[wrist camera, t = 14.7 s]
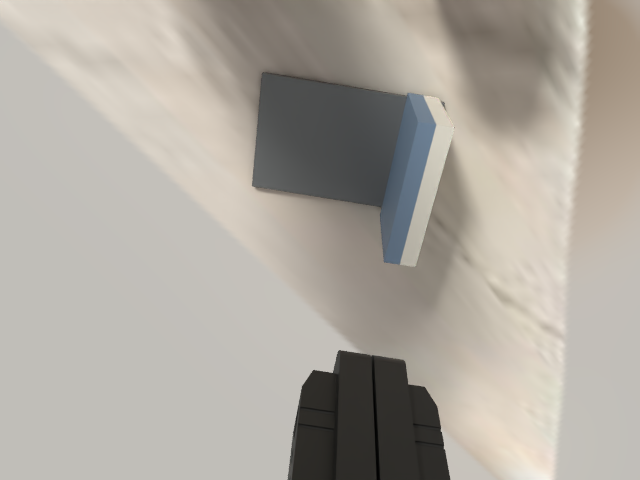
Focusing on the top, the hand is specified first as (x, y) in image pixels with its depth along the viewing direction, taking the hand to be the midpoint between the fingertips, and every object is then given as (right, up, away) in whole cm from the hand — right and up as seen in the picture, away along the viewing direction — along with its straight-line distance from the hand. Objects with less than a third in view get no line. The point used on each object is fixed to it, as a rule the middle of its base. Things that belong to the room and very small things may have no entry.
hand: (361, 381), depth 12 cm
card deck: (+4, +3, +23) cm, 24 cm away
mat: (+1, +10, +24) cm, 26 cm away
